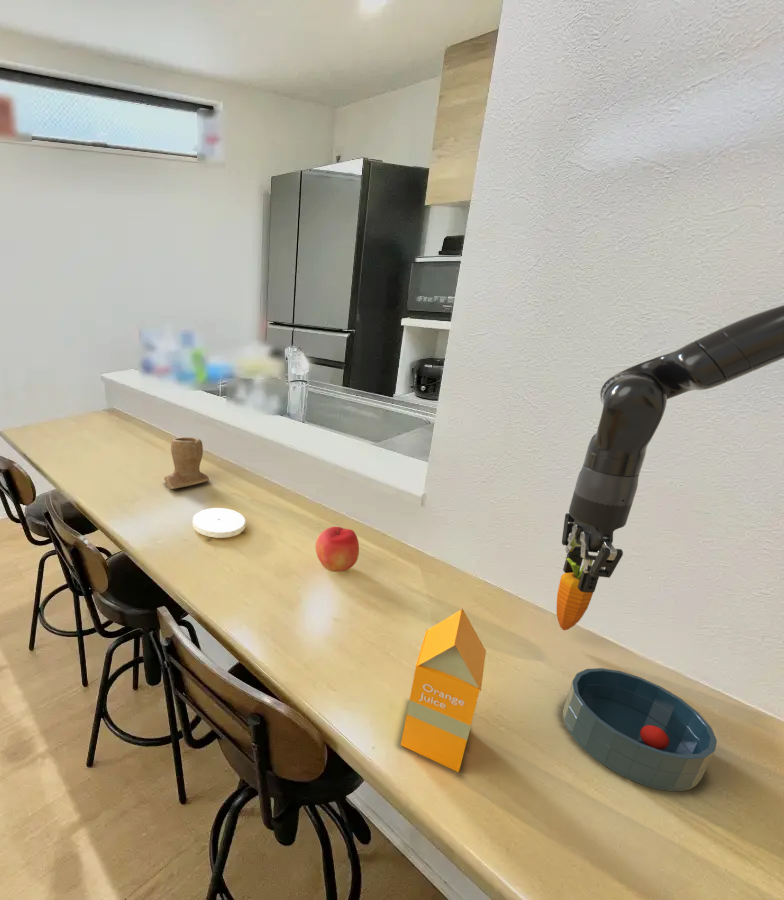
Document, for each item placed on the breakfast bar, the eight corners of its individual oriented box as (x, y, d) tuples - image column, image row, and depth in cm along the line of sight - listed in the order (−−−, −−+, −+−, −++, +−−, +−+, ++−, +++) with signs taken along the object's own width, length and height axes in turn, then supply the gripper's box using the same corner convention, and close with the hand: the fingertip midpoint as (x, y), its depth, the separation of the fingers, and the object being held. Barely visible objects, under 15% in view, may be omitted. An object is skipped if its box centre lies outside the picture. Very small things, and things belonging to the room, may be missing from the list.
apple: (358, 562, 116) (363, 525, 113) (353, 584, 108) (358, 544, 105) (317, 553, 120) (320, 517, 116) (309, 574, 112) (312, 535, 108)
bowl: (683, 725, 74) (697, 694, 72) (716, 814, 62) (734, 780, 60) (559, 683, 82) (568, 654, 80) (567, 755, 70) (578, 723, 68)
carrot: (554, 636, 89) (574, 565, 84) (542, 619, 93) (561, 550, 88) (586, 641, 87) (609, 568, 82) (572, 622, 92) (593, 553, 87)
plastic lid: (230, 546, 123) (230, 537, 122) (182, 532, 130) (182, 523, 129) (253, 523, 134) (253, 515, 134) (208, 511, 141) (208, 503, 140)
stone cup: (195, 472, 169) (195, 430, 164) (213, 484, 160) (214, 440, 154) (155, 481, 163) (154, 437, 158) (172, 494, 153) (171, 448, 148)
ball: (662, 742, 71) (669, 726, 70) (667, 758, 68) (674, 742, 67) (635, 732, 72) (641, 716, 71) (639, 748, 70) (646, 732, 69)
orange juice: (399, 745, 71) (421, 632, 64) (411, 703, 78) (432, 597, 71) (460, 773, 67) (490, 656, 60) (467, 726, 74) (494, 617, 67)
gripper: (658, 515, 74) (626, 610, 79) (606, 479, 87) (582, 562, 93) (599, 511, 76) (572, 603, 81) (557, 475, 89) (536, 557, 94)
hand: (577, 581), depth 87 cm, fingers closed on carrot, 5 cm apart
